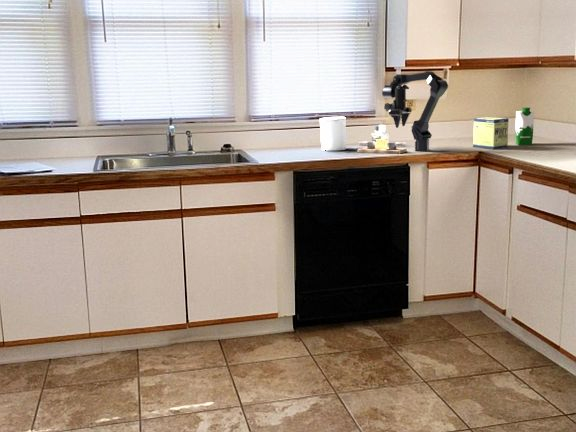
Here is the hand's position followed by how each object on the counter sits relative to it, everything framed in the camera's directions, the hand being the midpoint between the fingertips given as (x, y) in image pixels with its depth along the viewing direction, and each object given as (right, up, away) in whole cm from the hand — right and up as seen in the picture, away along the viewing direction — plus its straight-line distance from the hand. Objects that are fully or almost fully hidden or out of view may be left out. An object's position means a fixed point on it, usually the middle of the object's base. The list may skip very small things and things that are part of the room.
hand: (400, 126), depth 372 cm
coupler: (-11, -13, -7) cm, 18 cm away
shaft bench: (-11, -14, -7) cm, 19 cm away
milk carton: (+68, -10, +2) cm, 68 cm away
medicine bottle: (-8, -9, +19) cm, 23 cm away
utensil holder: (-36, -11, +12) cm, 39 cm away
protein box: (+48, -12, -5) cm, 49 cm away
